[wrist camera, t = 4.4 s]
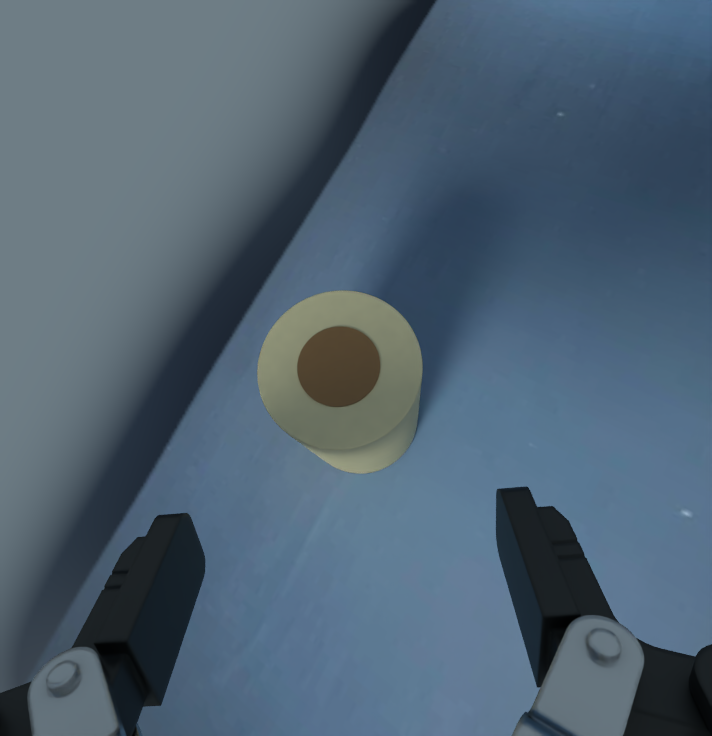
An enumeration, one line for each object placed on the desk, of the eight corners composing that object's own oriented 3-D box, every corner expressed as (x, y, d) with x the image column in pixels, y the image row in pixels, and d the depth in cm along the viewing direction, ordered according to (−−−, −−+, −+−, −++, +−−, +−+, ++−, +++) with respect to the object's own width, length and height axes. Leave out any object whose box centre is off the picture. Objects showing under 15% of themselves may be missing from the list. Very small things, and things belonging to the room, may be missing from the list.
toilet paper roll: (314, 483, 23) (267, 464, 15) (297, 374, 24) (247, 306, 17) (428, 461, 23) (439, 430, 15) (404, 352, 24) (403, 273, 17)
